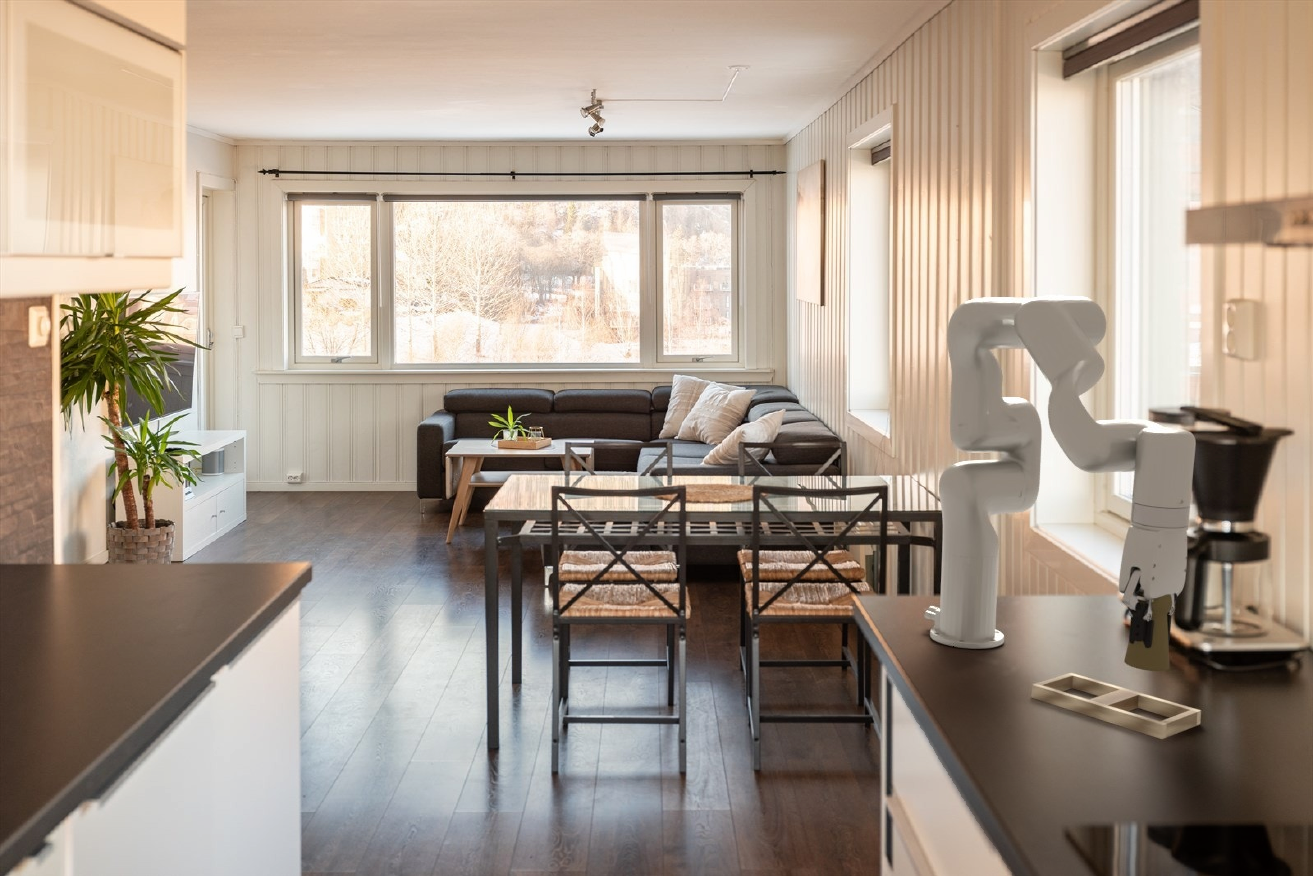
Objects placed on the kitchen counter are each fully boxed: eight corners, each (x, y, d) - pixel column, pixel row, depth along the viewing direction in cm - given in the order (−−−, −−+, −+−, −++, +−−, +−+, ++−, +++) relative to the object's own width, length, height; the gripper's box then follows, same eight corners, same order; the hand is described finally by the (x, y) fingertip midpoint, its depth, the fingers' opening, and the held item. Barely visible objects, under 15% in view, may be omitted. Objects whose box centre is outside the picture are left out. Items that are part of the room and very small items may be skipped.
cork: (1174, 672, 167) (1180, 596, 166) (1128, 669, 169) (1134, 592, 167) (1164, 659, 173) (1171, 585, 172) (1120, 655, 174) (1126, 581, 173)
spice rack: (1031, 697, 181) (1031, 684, 181) (1070, 685, 187) (1071, 672, 187) (1161, 739, 164) (1162, 725, 164) (1200, 724, 170) (1201, 710, 170)
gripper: (1166, 505, 176) (1156, 626, 179) (1101, 517, 166) (1091, 646, 169) (1216, 514, 170) (1205, 639, 173) (1152, 528, 160) (1140, 660, 163)
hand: (1149, 641), depth 171 cm, fingers closed on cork, 3 cm apart
